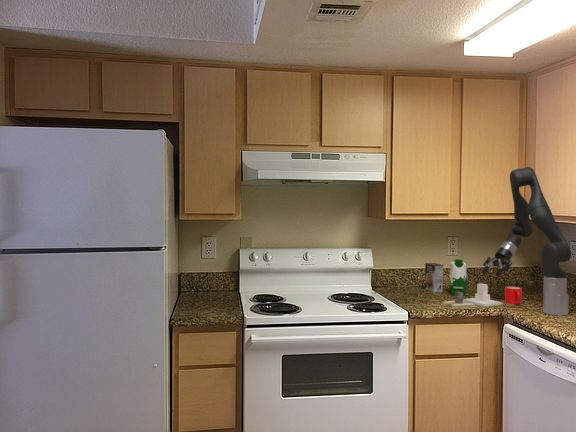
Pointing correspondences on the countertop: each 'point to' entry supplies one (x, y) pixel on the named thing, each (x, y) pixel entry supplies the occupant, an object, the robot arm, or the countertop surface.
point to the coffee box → (434, 277)
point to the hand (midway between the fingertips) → (490, 274)
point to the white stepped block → (482, 293)
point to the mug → (513, 295)
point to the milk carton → (458, 276)
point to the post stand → (459, 302)
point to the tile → (489, 303)
